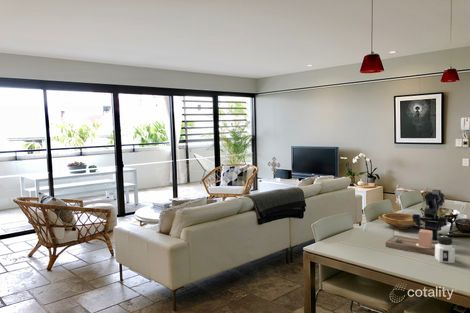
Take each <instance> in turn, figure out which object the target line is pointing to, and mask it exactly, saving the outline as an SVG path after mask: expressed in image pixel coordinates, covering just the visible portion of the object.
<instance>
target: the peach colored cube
mask: <svg viewBox="0 0 470 313" xmlns="http://www.w3.org/2000/svg"><path fill="white" fill-rule="evenodd" d="M418 239H419V244H418V246H423V247H430V248H431V246H432V241H433V240H432V231H431V230H428V229H422V228H420V231H419V230H418Z"/></svg>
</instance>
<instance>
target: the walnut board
mask: <svg viewBox="0 0 470 313" xmlns="http://www.w3.org/2000/svg"><path fill="white" fill-rule="evenodd" d="M418 244H419V238H415V237H408V236H401V235H395V234H394V235H393V236H391V237H389V239H387V240H386V241H385V248H391V249H398V250H403V251H409V252H413V253H419V254H423V255H424V254H425V255H430V256H434V257H435V244H438V241H435V240H432V246H431V248H430V247H423V246H418Z"/></svg>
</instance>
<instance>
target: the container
mask: <svg viewBox="0 0 470 313" xmlns="http://www.w3.org/2000/svg"><path fill="white" fill-rule="evenodd" d="M437 237H438V240H437V242H438V244H435V256H434V258H435V259H436V261H438V263H447V264H448V263H449V264H450V263H451V264H455V262H456V261H455V260H456V249H455V248H454V247H453V245H452V244H453V239H452V238H451V237H449V236H448V235H447V236H446V235H442V236H437Z"/></svg>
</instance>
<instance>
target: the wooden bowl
mask: <svg viewBox="0 0 470 313" xmlns="http://www.w3.org/2000/svg"><path fill="white" fill-rule="evenodd" d="M412 216H413V214H409V213H404V212H403V213H402V212H389V213H383V214H382V216H381V215H380V216H378V219H379V220H381V221H383V222H385V224H387V225H389V226H391V227H392V228H393V229H398V230H407V229H409V228H411V227H413V226H415V225H416V224H417V223H415V222H413V218H412ZM422 221H423V220H420V223H421V222H422Z"/></svg>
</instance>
